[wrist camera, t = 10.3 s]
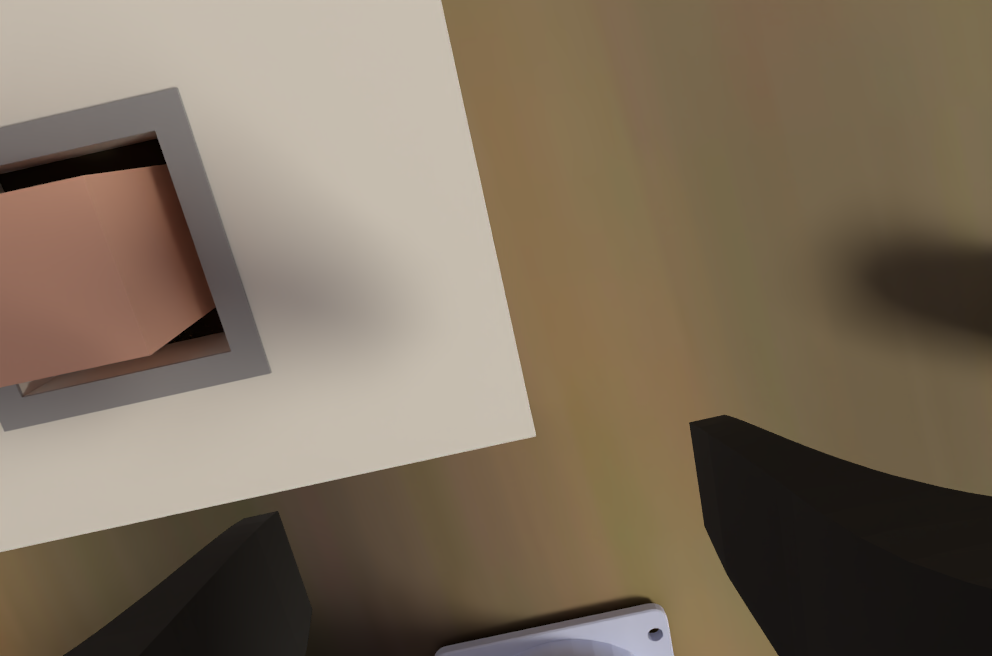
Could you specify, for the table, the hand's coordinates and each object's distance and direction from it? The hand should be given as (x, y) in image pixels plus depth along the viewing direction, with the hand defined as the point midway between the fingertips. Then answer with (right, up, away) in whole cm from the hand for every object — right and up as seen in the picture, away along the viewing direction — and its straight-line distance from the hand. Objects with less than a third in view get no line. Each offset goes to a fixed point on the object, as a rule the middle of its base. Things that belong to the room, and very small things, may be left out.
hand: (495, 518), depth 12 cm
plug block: (-10, +5, +8) cm, 14 cm away
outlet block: (-10, +5, +8) cm, 14 cm away
